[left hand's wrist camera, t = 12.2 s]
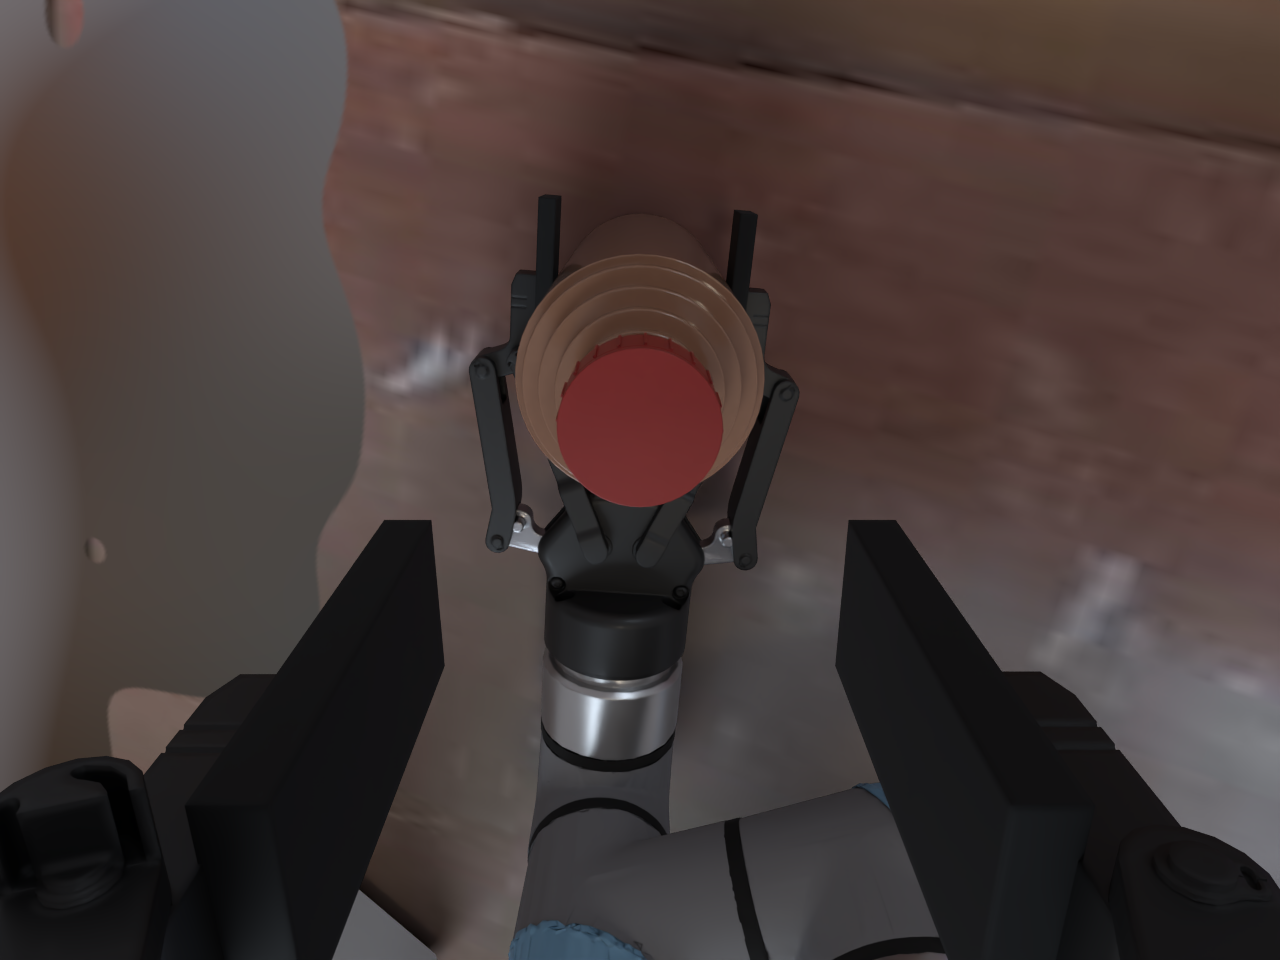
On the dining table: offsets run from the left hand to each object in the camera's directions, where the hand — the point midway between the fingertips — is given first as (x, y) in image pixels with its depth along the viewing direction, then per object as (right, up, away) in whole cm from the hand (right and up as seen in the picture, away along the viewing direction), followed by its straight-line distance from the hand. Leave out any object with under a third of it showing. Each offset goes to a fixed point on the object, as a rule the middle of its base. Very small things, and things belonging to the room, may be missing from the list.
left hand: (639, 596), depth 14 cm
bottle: (0, +12, +32) cm, 34 cm away
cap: (0, +3, +9) cm, 10 cm away
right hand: (0, +14, +24) cm, 28 cm away
